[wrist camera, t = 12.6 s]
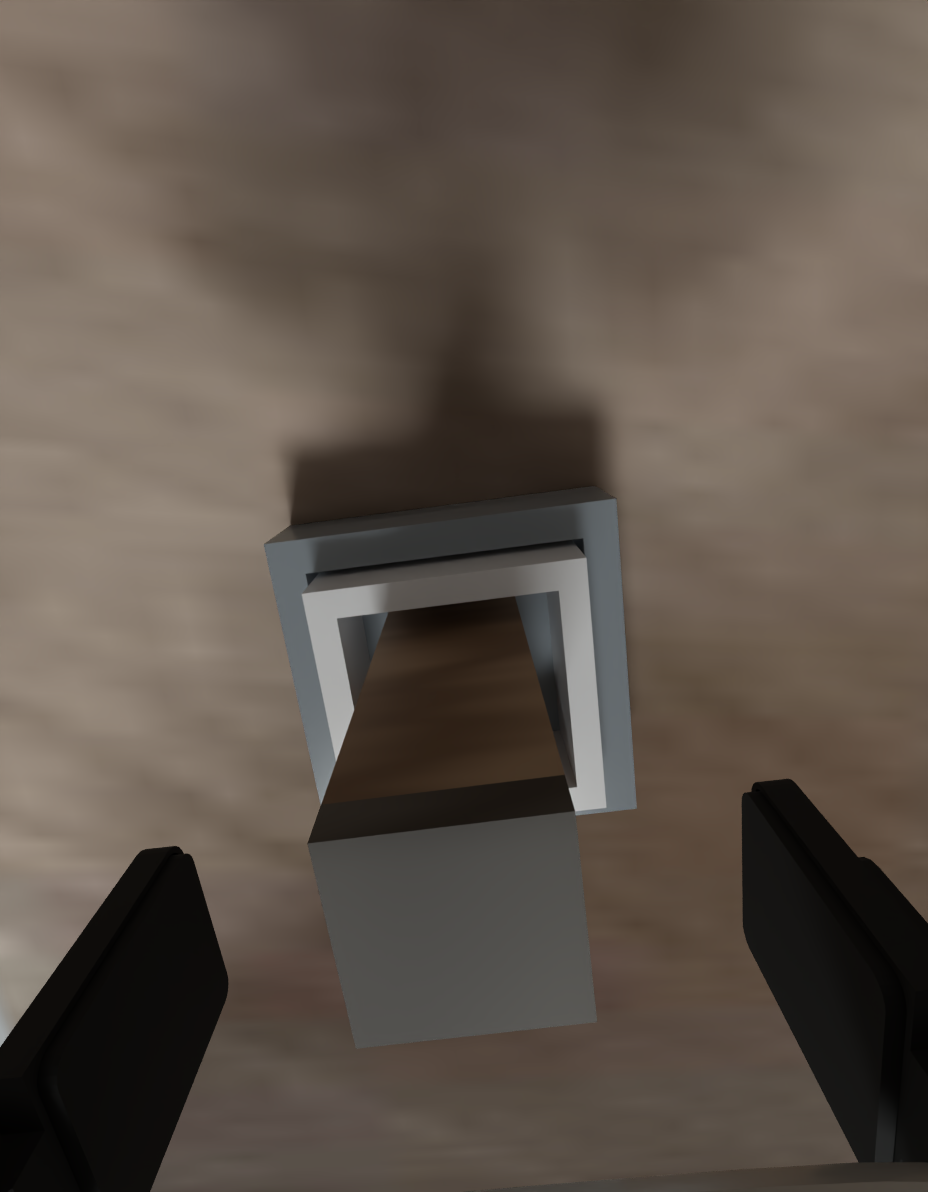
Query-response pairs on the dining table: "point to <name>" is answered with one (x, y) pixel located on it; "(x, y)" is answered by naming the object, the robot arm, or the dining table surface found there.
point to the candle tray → (464, 574)
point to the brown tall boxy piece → (453, 839)
